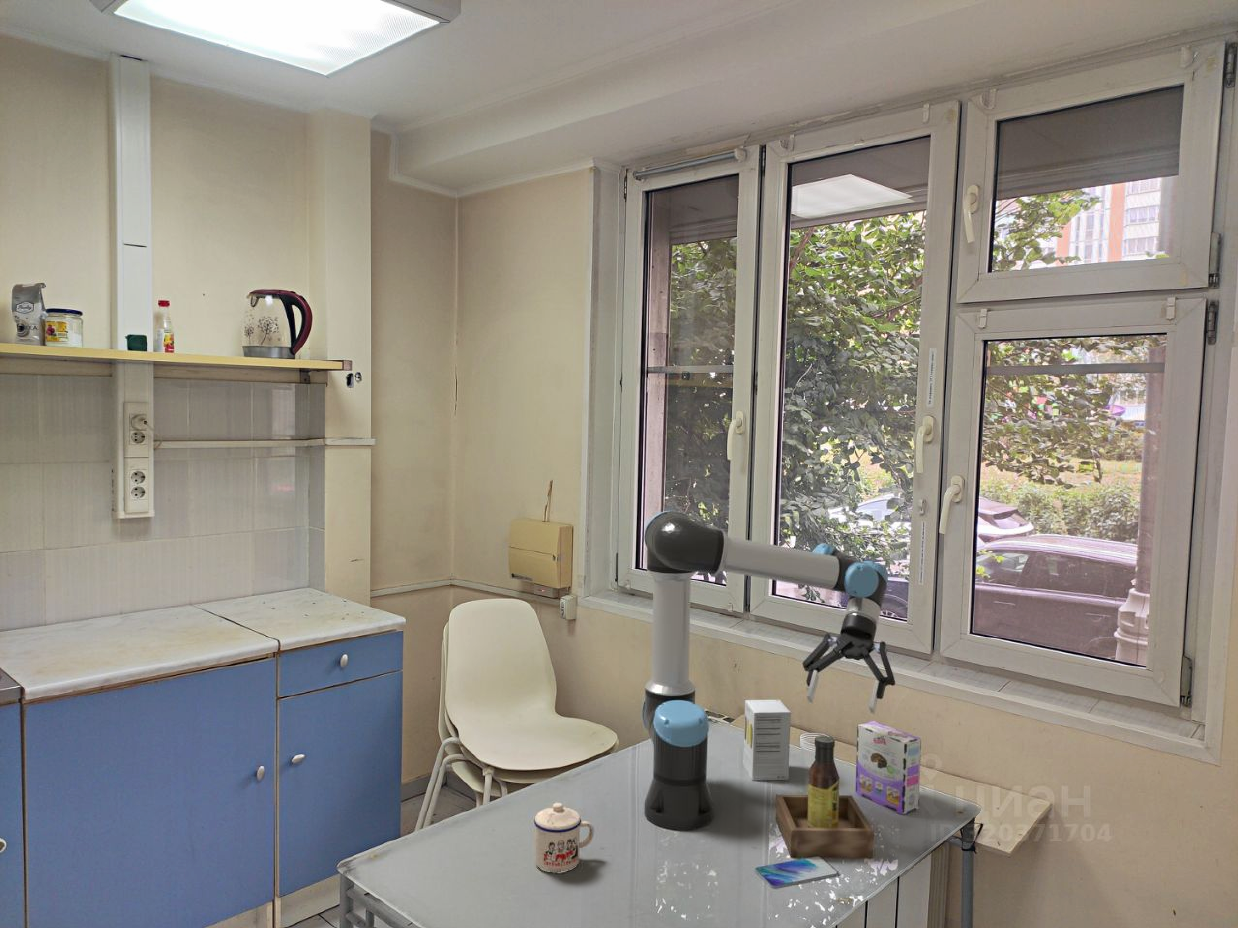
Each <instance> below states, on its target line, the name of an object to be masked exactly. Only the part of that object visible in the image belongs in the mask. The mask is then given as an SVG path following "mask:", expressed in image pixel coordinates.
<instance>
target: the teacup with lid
mask: <svg viewBox="0 0 1238 928" xmlns="http://www.w3.org/2000/svg"><path fill="white" fill-rule="evenodd" d="M533 823H534V828H535V829H534V832H535V833H534V864H535V863H536V864H535V866H536V865H537V866H538V867H540V868H541V869H543V870H546V871H550V872H561V871H566V870H570V869H572V868H574V867H575V866H577V864H578V863H579V864H580V849H582V848H584V847H587V846H589V844H590V843H591V842H592V840H593V839H594V834H595V828H594V826H593V824H592V823H591V822H589V821H585V820H584V821H582V818H581V816H580V814H579V812H577V811H576V810H574V809H572V808H568V807H565V806H564V805H563V804H562V803H561V802H555V803H553V804H552V807H547V808H544V809H542V810H541V811H539V812H537V814H536V815H535V817H534V819H533ZM583 827H588V828H589V832H588V836H587V838H586V839H585V840H583V841H582V842H580V837H581V835H580V833H581V828H583ZM579 864H578V865H579ZM537 866H536V867H537ZM538 867H537V868H538ZM577 867H578V866H577Z"/></svg>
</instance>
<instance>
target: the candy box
mask: <svg viewBox="0 0 1238 928" xmlns="http://www.w3.org/2000/svg"><path fill="white" fill-rule="evenodd" d="M921 750H922V738H921V737H919V736H916V735H913V734H910V733H907V732H904V731H901V730H898V729H896V728H893V727H890V726H889V725H885V724H883V723H880V722H877V721H874V720H872V721H868V722H864V723H860V724H858V725H856V759H855V760H856V761H855V762H856V764H855V768H856V770H855V791H854V792H855V794H856V795H859V796H861V797H863V798H865V797H866V798H865V799H868V800H870V801H872V802H874V803H877V804H878V805H881V806H883V807H885V808H887V809H889V810H892V811H894V812H897V813H899V814H901V815H905V814H908V813H911V812H914V811H917V810H919V806H920V805H919V803H920V779H921V777H920V776H921V774H920V773H921V752H922V751H921Z"/></svg>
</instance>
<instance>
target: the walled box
mask: <svg viewBox="0 0 1238 928" xmlns="http://www.w3.org/2000/svg"><path fill="white" fill-rule="evenodd" d="M774 818H775V822H776V825H777V827H778V829H779V832H780V834H781V837H782V840H783V842H784V844H785V846H786V848H787V851H788V855H789V856H790V858H809V857H814V856H820V857H822V858H823V859H824V858H826V859H827V858H829V859H874V847H875V845H874V844H875V843H874V841H875V830H874V829H873V827H872V826H871V824H870V822H869V821H868V819H867V817H866V816H865V815H864V812H863V811H862V810H861V808H860V806H859V805H858V803H857V802H856V800H855V798H854V797H853V796H852V795H851V794H849V795H847V794H846V795H843V794H842V795H840V794H839V811H838V828H808V823H807V820H808V794H775V817H774Z"/></svg>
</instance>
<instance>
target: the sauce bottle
mask: <svg viewBox="0 0 1238 928" xmlns="http://www.w3.org/2000/svg"><path fill="white" fill-rule="evenodd" d="M835 746H836V742H835V739H834V738H833V737H831V736H827V735H820V736H816V737H815V738H814V747H815V751H814V752H815V755H814V761H813V763H812V764H811V766H810V767H809V770H808V783H807V784H808V787H807V795H808V820H807V823H808V828H838V811H839V795H840V776H839V772H838V770H837V766H836V763H835V760H834V759H835V757H834V753H835V752H834V751H835V750H834V749H835Z"/></svg>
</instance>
